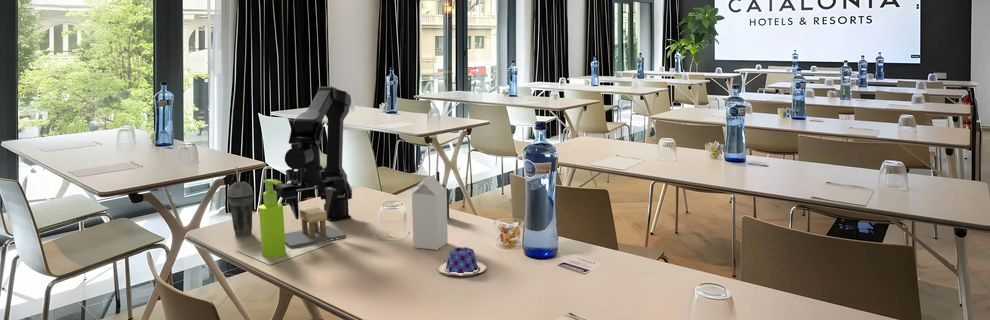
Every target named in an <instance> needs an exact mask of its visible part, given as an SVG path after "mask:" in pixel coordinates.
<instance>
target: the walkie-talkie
mask: <svg viewBox="0 0 990 320" xmlns="http://www.w3.org/2000/svg"><path fill="white" fill-rule="evenodd" d="M436 180H437V181H438V182H439V183H440V184H441V182H440V171H436ZM441 185H442V186H443V187H444V188H445V189H446V190H447V219H449V218H450V193H449V190H450V188H447V187H446V185H445V184H441Z"/></svg>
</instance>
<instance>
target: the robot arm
mask: <svg viewBox="0 0 990 320" xmlns="http://www.w3.org/2000/svg"><path fill="white" fill-rule="evenodd" d="M351 104H352V97H351V95H350V94H349V93H348V92H347V90H342V89H338V88H337V87H334V86H320V87H318V88H317V90H316V94H315V95H314V98H313V99H312V101H311V103H310V105H309V106H308V108H307V109H306V111H303V112H302V113H299V114H298V115H297V117H296V118H295V119H294V121H293V122H292V124H291V129H290V134H289V139H288V144H289V145H290V148H289V149H288V150H287V151H286V152H285V154H284V155H285V156H284V162H285V164H286V165H287V167H289V169H286V170H285V179H286V181H287V183H282V184H279V185H275V187H274V191H276V192H277V197H278V198H282V199H284V200H286V201H287V203H288V205H289V207H290V209H291V211H292V213H293V215H294V218H295V220H299V219H300V210H299V197H298V196H296V195H297V193H301V192H308V191H314V190H318V192H319V195H320V200H321V201H322V200H324V204H323V210H324V211H326V214H327V220H329V221H331V222H333V221H339V220H344V219H350V218H352V215H350V214H349V200H351V199H353V189H352V187H351V184H350V182H349V181H348V175H347V173H346V172H345V170H344V168H343V150H344V149H343V146H344V145H343V144H344V142H343V141H344V120H345V119H346V117H347V116H348V114H349V112H350V107H351ZM325 117H326V119H327V133H326V134H327V135H326V136H327V137H326V166H325V167H324V170H323V165H321V152H320V151H321V150H320V148H321V147H320V144H321V140H322V138H323V133H324V130H325V126H324V124H323V120H324V118H325ZM290 182H293V184H292V183H290ZM297 184H298V185H297Z"/></svg>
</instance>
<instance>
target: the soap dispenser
mask: <svg viewBox="0 0 990 320" xmlns="http://www.w3.org/2000/svg"><path fill="white" fill-rule="evenodd" d="M262 183H263V184H265V189H266V191H265V190H264V192H263V193H262V195H263V197H262V199H263V204H261V205H259V206H258V211H259V212H258V214H259V215H258V216H259V226H260V227H259V228H260V240H261V241H260V242H261V254H262V257H264V258H270V259H271V258H273V259H274V258H280V257H283V256H285V255H286V254H287V253H286V252H287V249H286V245H285V233H286V232H285V222H284V221H285V218H284V207H283V204H282V203H279V202H278V196H277V192H276V191H275V189H274V185H275V186H277V185H279V184H283V181H281V180H279V179H275V178H274V179H273V178H270V179H269V178H268V179H264V180H262Z"/></svg>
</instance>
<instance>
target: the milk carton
mask: <svg viewBox="0 0 990 320" xmlns="http://www.w3.org/2000/svg"><path fill="white" fill-rule="evenodd" d="M442 185H443V184H441V182H440V183H439V182H438V181H437V178H436V175H435V174H432V175H430V176H427V177H426V178H424V179H423V180H421V181H420V182H418V183H417V187H418V188H417V189H416V190H414V191H413V192H412V193H411V206H412V207H411V210H412V211H411V213H412V239H413V240H412V243H413V245H412V247H413V248H414V249H415V248H416V249H426V250H433V251H439V250H440V249H441V248H443V247H444V246H445V245H446V244H448V242H449V240H448V236H449V235H448V218H447V190H446V189H445V188H446V187H445V188H444V187H443V186H442ZM439 248H440V249H439Z"/></svg>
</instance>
